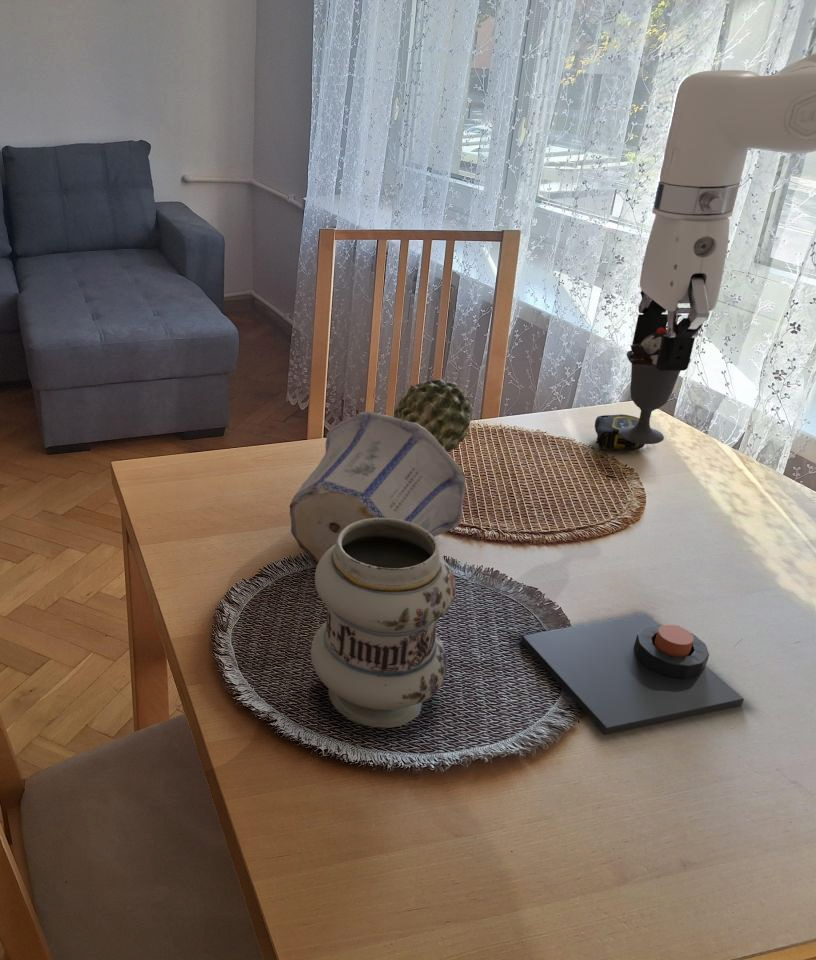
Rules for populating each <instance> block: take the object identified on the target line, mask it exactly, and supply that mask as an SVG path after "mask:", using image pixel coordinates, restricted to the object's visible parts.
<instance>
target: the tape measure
mask: <svg viewBox="0 0 816 960" xmlns="http://www.w3.org/2000/svg"><path fill="white" fill-rule="evenodd" d="M639 418H640V417H637V416H634V415H628V414H607V415H606V414H605V415H598V416H597V417H596V418H595V420H594V429H595V430H594V431H595V434H596V435H597V436H596V442H595V443H596V444H597V445H598V447H599V448H600V449H602V450H610V449H612V450H616V451H621V452H634V451H638V450H640V449H643V448H644V447H645V445H646V444H639V443H634V442H631V441H628V440H626V439H624V438H622V437H621V436H620V435H619V430H620V429H621V428H623V427H627V426H635V425H636V424H637V423H638V421H639Z"/></svg>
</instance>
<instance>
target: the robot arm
mask: <svg viewBox="0 0 816 960" xmlns="http://www.w3.org/2000/svg"><path fill="white" fill-rule="evenodd" d="M749 149H754V150H761V151H770V152H776V153H783V154H791V155H792V154H793V155H801V154H808V153H814V152H816V52H815V53H812V54H810V55H808V56H806V57H804V58H802V59H799V60H797V61H794V62H793V63H791V64H789V65H787V66H785V67H784V68H782V69H780V70H779V71H777V72H776V73H775V74H769V75H768V74H767V75H760V74H759V73H757V72H755V71H751V70H744V69H743V70H741V69H718V70H702V71H697V72H692V73H690V74H688V75H686V76H685V77H683V79H682V80H681V81H680V83H679V84H678V87H677V90H676V93H675V97H674V102H673V107H672V112H671V117H670V122H669V126H668V131H667V137H666V142H665V146H664V152H663V156H662V161H661V165H660V171H659V175H658V181H657V184H656V185H657V186H656V190H655V196H654V201H653V204H652V208H651V212H652V214H654V215H655V216H654V220H653V223H652V225H651V229H650V234H649V237H648V241H647V244H646V248H645V252H644V257H643V261H642V265H641V271H640V278H639V288H640V289H641V290H640V292H639V293H640V295H641V300H640V302H639V304H638V308H637V309H638V313H639V314H638V315H637V319H636V324H635V329H634V334H633V339H632V344H631V345H635V344H641V343H642V341H643V340H644V339H645V338H646V337H647V336H649V335H651V334H653V333H655V332H656V331H657V330H658V328H661V327H662V328H665V327H666V326H667V328H666V329H667V335H663V336H662V341H661V345H660V350H659V354H658V359H657V363H656V368H657V369H658V370H659V371H680V372H682V371H684V372H685V371H686V370H687V369H688V368H689V365H690V363H689V361H690V359H691V357H692V352H693V348H694V344H695V340H696V338H697V337H698V336H699V331H700V329H701V328H702V327H703V326H704V325H703V324H704V323H705V322H706V321H707V320H708V318H709V317H710V312H712V311H713V310H715V308H716V306H717V303H718V300H719V295H720V291H721V286H722V281H723V277H724V276H723V275H724V272H725V271H724V270H725V265H726V259H727V253H728V247H729V237H730V220H731V219H730V218H731V217H732V216H733V213H734V209H735V204H736V201H737V196H738V192H739V188H740V183H741V180H742V176H743V171H744V168H745V163H746V161H747V155H748V151H749ZM679 304H680V305H681V304H689V307H679V306H678V305H679ZM666 312H667V313H666ZM677 315H682V316H683V315H685V316H686V317H683V318H682V319H681V320H680V321H678V322H677ZM690 362H691V361H690Z"/></svg>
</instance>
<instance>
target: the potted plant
mask: <svg viewBox="0 0 816 960" xmlns="http://www.w3.org/2000/svg"><path fill="white" fill-rule="evenodd" d="M472 408H473V405H472V402H471V401H470V399H469V398H468V396H467V394H466V392H465V391H464V389H463V388H460V387H458V386H457V383H456V382H455V381H448V380H447V381H445V380H444V379H443V378H436V379H431V380H430V379H428V380H425V381H422V382H420V383H417V384H415V385H414V384H410V387H409V389H408V390H407V393H406V395H404V396H403V397H401V399H400V401H399V402H398V405H397V407H396V409H395V410H394V411H393V416H390V415H385V414H381V413H377V412H374V411H361V412H359V413H357V414H356V415H353V416H351V417H349V418H347V419H344V420H342V421H341V422H340V423H338V424H335V425H334V426H332V428H330V430H329V431H328V432H327V433H326V439H325V444H324V445H325V453H324V455H323V457H322V459H321V461H320V462H319V463H318V465H317V467H315V469H314V470H313V471H312V473H311V474H309V476H308V478H307V479H306V480H305V481H304V482H303V484H301V486H300V487H299V489H298V491H297V492H296V493H295V495H294V496H293V497H292V499H291V502H290V504H289V517H290V533H291V535H292V536H293V538H294V540H295V541H296V543H297V544H298V547H299V548H300V549H301V550H303V551H304V552H305V553H306V554H307V555H308V556H309V557H310V558H311V560H313V561H314V562H315V563H316V564H318V562H319V561H320V559H321V557H322V556H323V555H324V554H325V552H326V551H327V550H329V549H330V548H331V547H332V546H334V545H335V544H336V541H337V538H338V536H339V534H340V533H341V531H342V530H343V529H344V528H346V527H347V526H348V525H350V524H352V523H354V522H357V521H360V520H364V519H370V518H393V519H400V520H404V521H407V522H410V523H413V524H415V525H418V526H420V527H422V528H423V529H425V530H426V531H428V532H429V533H430V534H431V535H432V536H433V537H434V538H436V537H437V536H439V535H442V534H444V533H447V532H448V531H451V530H453V529H455V528H457V527H458V526H459V525H460V524H461V522H462V519H463V506H464V503H463V502H464V499H465V494H466V493H465V492H466V491H465V490H466V474H465V472H464V470H462V468H461V467H460V465H459V464H458V463H457V462H456V461H455V460H454V458H453V457H452V456H451V455H450V452H451V451H453V450H455V449H458V448H459V446H460V444H461V443H462V442H463V441H464V440H465V438H466V437H467V435H468V429H469V427H470V424H471V422H472V419H471V414H470V413H471V411H472Z"/></svg>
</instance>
